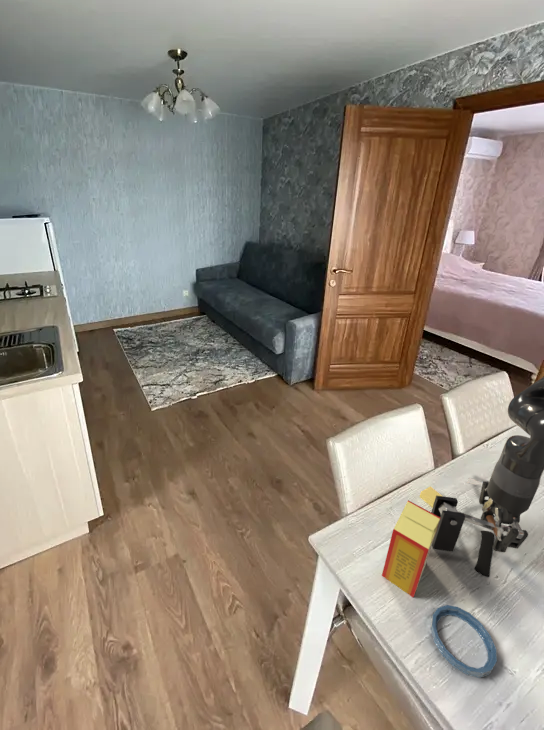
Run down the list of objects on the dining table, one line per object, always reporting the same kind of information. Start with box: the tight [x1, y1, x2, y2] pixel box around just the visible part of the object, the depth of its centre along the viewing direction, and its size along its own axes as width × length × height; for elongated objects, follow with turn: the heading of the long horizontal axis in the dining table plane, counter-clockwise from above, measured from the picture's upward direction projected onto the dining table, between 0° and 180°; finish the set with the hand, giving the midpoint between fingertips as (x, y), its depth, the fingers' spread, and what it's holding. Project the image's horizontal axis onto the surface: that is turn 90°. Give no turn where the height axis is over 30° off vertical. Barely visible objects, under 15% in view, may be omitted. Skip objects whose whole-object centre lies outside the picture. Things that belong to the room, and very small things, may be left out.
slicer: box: [430, 495, 465, 553], centre depth 81 cm, size 10×8×13 cm
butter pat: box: [419, 485, 443, 509], centre depth 93 cm, size 4×4×3 cm
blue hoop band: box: [429, 604, 498, 679], centre depth 64 cm, size 10×10×3 cm
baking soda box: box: [381, 500, 440, 598], centre depth 74 cm, size 10×6×16 cm
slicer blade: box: [439, 502, 505, 538], centre depth 79 cm, size 13×6×2 cm, turn 80°
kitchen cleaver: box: [466, 477, 495, 578], centre depth 88 cm, size 31×2×10 cm
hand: (491, 537), depth 80 cm, fingers closed on slicer blade, 5 cm apart
